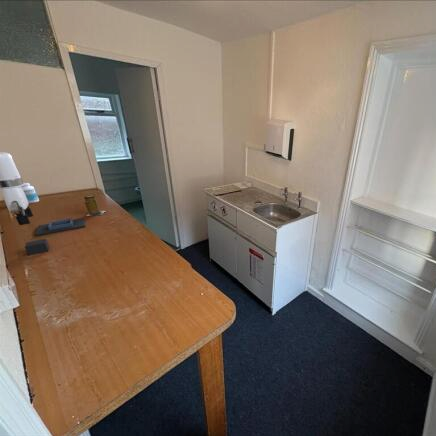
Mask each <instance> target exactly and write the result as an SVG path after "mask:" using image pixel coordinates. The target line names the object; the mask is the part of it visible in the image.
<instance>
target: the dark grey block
mask: <svg viewBox="0 0 436 436" xmlns="http://www.w3.org/2000/svg"><path fill="white" fill-rule="evenodd" d="M24 249H25V250H26V251H25V252H26V253H27V255H28V256H32V255H37V254H43V253H46V252H49V250H50V244H49V243H48V240H47V238H43V239H38V240H33V241H32V240H31V241H28V242H27V241H26V243H25V244H24Z"/></svg>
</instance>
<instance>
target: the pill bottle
mask: <svg viewBox="0 0 436 436" xmlns="http://www.w3.org/2000/svg"><path fill="white" fill-rule="evenodd" d="M23 184H24V185H23V186H21V187H22V189H23V191H24V193H25V195H26V198H27V200H28V203H29V204H35V203H36V204H37V203H38V202H40V198H39V196H38V193H37V192H36V189H35V187H34V186H33V185H31V184H30V182H23Z"/></svg>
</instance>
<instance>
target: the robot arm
mask: <svg viewBox="0 0 436 436" xmlns="http://www.w3.org/2000/svg"><path fill="white" fill-rule="evenodd" d="M23 183H24V182H23V179H22V177H21V174H20V172H19V169H18V168H17V166H16V163H15V161H14V159H13V157H12V155H11V153H8V152H6V151H0V193H1V195H2V198H3V200H4V203H5V205H6V207H7V210H8V211H9V212H13V215H14V217H15V219H16V221H17V223H18V225H19V226H24V225H30V224H31V221H30V219H29V218H31V217H32V218H33V217H34V214H33V211H32V209H31V207H30V206H29V204H30V203H28V200H27V198H26V195H25V193H24V191H23V189H22V187H21V186H23V185H24V184H23Z"/></svg>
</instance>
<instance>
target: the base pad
mask: <svg viewBox="0 0 436 436" xmlns="http://www.w3.org/2000/svg"><path fill="white" fill-rule="evenodd" d="M82 228H83V229H84V228H86V219H85V217H80V218H74V219H73V218H66V219H60V220H55V221H49V223H45V224H40V225H37V228H36V231H35V234H34V236H35V237H40V236H41V237H42V236H46V235H50V234H56V233H57V234H58V233H62V232H67V231H72V230H78V229H82Z"/></svg>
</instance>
